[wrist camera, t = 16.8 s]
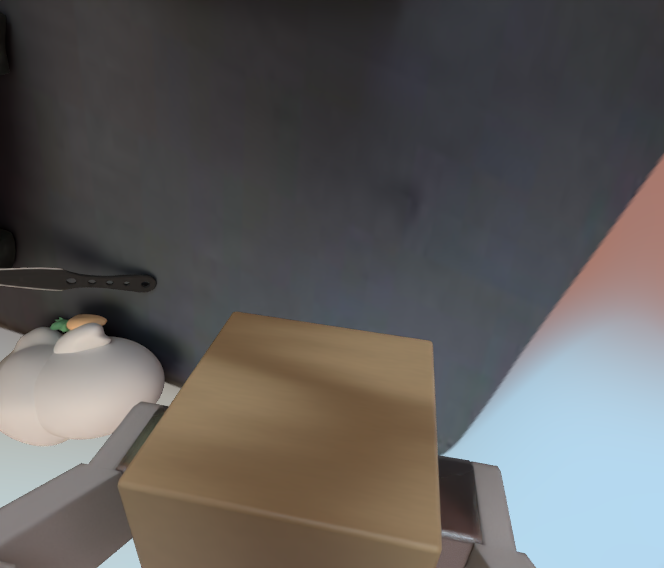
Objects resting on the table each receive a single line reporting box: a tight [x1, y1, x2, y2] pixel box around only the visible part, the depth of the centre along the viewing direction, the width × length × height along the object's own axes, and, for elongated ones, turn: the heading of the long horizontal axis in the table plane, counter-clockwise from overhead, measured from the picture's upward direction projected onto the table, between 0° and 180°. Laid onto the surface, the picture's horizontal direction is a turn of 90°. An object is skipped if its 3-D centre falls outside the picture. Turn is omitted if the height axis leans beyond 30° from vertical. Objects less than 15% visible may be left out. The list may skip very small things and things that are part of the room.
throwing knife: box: [0, 268, 156, 292], centre depth 29 cm, size 12×1×2 cm
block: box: [117, 312, 442, 568], centre depth 9 cm, size 4×4×4 cm
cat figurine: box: [0, 314, 165, 446], centre depth 33 cm, size 10×8×15 cm
